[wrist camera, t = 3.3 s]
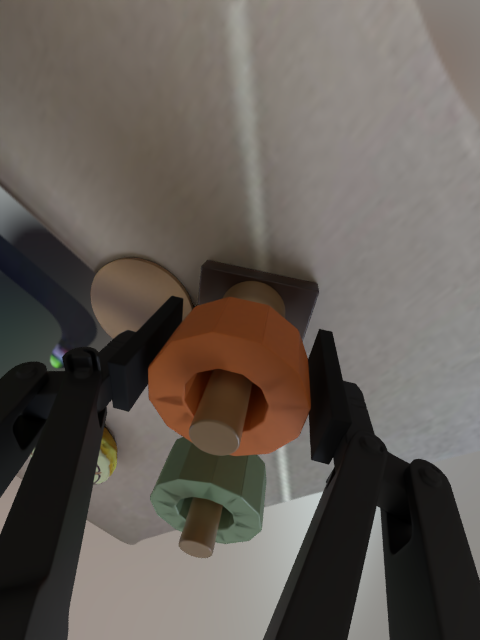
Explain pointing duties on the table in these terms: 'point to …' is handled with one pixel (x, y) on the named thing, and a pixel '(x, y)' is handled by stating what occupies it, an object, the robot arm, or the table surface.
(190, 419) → the orange ring
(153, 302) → the cork trivet
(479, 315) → the table surface
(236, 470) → the green ring
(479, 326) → the table surface
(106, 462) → the decorated donut
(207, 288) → the peg board
